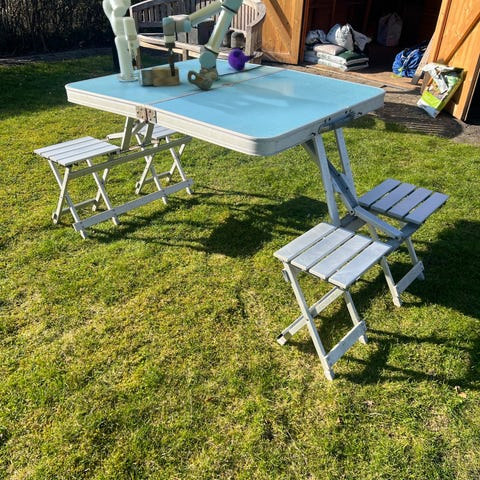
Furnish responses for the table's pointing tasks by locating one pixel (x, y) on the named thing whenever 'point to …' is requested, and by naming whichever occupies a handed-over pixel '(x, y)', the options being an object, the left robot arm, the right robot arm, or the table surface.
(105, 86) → the table surface
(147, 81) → the drawer
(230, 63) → the toy
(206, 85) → the teapot
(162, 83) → the cabinet
